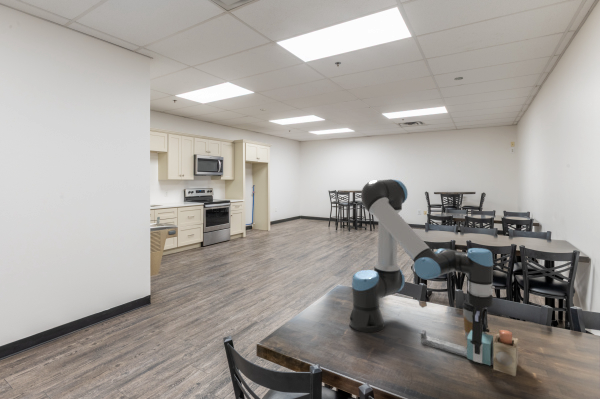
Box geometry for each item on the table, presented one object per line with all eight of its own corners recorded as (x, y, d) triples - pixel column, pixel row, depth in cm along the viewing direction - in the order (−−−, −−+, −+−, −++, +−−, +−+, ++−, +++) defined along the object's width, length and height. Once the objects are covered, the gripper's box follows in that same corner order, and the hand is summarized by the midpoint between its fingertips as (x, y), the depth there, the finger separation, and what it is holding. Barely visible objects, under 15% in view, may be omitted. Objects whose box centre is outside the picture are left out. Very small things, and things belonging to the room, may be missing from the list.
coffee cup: (490, 345, 114) (490, 307, 114) (466, 344, 116) (466, 306, 115) (481, 334, 123) (481, 298, 122) (459, 333, 124) (459, 298, 123)
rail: (421, 342, 118) (421, 333, 118) (423, 339, 121) (423, 330, 120) (499, 367, 102) (499, 355, 101) (500, 363, 104) (500, 351, 104)
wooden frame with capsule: (493, 370, 100) (493, 344, 100) (496, 358, 107) (496, 333, 106) (515, 377, 97) (515, 350, 96) (517, 364, 103) (517, 338, 102)
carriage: (467, 359, 106) (466, 338, 106) (471, 350, 112) (470, 330, 111) (490, 366, 102) (490, 344, 101) (493, 356, 107) (493, 335, 107)
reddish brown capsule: (498, 341, 101) (498, 333, 101) (500, 337, 104) (500, 328, 104) (511, 345, 99) (511, 336, 98) (512, 340, 101) (512, 331, 101)
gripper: (487, 306, 94) (487, 375, 96) (497, 286, 111) (496, 345, 112) (461, 300, 99) (461, 366, 101) (473, 282, 116) (474, 338, 117)
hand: (480, 355), depth 107 cm, fingers open, 9 cm apart
